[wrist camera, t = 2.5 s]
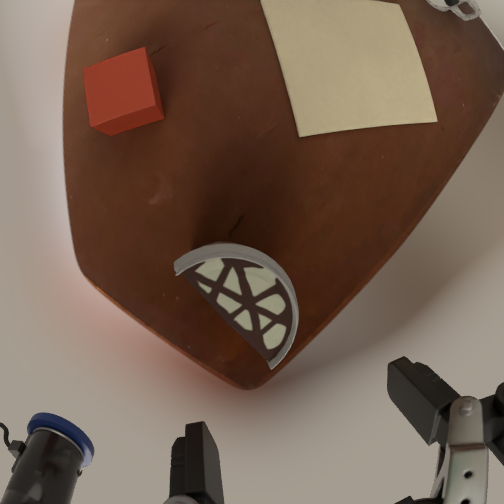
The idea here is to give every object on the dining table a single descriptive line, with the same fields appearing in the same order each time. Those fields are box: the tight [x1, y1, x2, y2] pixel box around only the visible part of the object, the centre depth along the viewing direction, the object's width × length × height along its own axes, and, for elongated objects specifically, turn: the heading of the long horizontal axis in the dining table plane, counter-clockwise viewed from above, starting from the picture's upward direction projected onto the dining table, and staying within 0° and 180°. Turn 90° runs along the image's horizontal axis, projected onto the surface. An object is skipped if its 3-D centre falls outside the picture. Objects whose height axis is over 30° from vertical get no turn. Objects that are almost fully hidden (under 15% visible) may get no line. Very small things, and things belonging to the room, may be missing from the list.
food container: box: [174, 241, 299, 370], centre depth 28 cm, size 12×6×10 cm, turn 39°
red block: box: [83, 47, 165, 136], centre depth 24 cm, size 6×6×6 cm
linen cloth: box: [260, 0, 438, 137], centre depth 29 cm, size 20×18×1 cm
